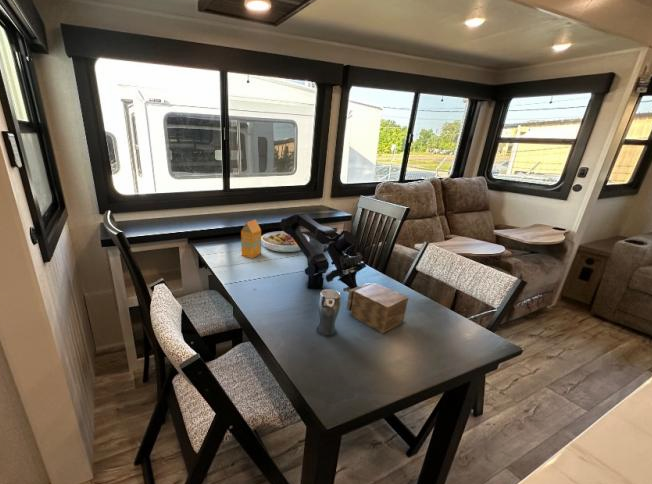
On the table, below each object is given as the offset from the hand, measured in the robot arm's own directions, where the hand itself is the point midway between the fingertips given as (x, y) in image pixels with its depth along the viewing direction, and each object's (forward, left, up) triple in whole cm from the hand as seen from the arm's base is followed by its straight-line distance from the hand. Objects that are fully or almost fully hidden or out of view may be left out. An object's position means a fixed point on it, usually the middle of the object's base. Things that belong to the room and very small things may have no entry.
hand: (356, 290), depth 123 cm
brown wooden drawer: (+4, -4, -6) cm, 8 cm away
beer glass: (-13, -18, -8) cm, 24 cm away
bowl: (-30, +73, -8) cm, 79 cm away
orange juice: (-49, +55, -8) cm, 74 cm away
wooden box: (+7, -8, -7) cm, 13 cm away
